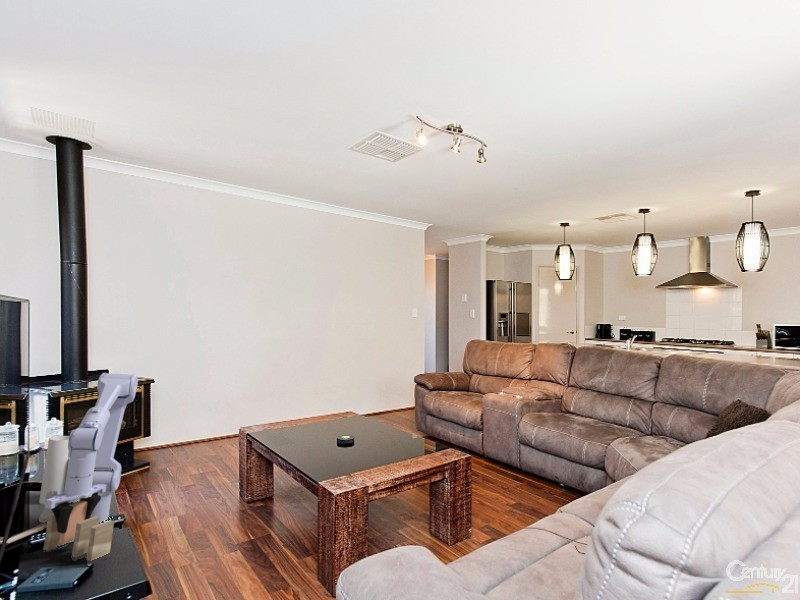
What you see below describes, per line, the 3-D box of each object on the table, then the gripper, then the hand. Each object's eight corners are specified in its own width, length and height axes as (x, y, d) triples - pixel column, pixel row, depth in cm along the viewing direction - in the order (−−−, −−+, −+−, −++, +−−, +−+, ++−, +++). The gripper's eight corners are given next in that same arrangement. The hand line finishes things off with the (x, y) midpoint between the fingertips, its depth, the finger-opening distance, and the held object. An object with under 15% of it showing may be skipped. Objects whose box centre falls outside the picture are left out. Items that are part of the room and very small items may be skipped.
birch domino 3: (85, 565, 110) (91, 527, 111) (104, 556, 115) (109, 520, 116) (90, 566, 110) (95, 528, 111) (109, 557, 115) (114, 521, 115)
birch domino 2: (71, 560, 112) (76, 523, 113) (90, 551, 117) (95, 516, 118) (75, 561, 112) (81, 524, 112) (94, 553, 116) (99, 517, 117)
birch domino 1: (43, 551, 115) (48, 514, 116) (63, 543, 120) (68, 508, 121) (47, 552, 115) (53, 516, 115) (67, 544, 119) (72, 509, 120)
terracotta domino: (58, 543, 114) (64, 506, 115) (78, 535, 119) (83, 500, 119) (63, 544, 113) (68, 507, 114) (82, 536, 118) (87, 501, 119)
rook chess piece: (37, 519, 132) (41, 491, 133) (56, 516, 135) (60, 488, 136) (39, 524, 129) (43, 496, 130) (58, 521, 132) (62, 493, 133)
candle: (37, 505, 141) (47, 441, 143) (41, 497, 148) (50, 436, 149) (80, 501, 147) (89, 439, 149) (82, 494, 153) (91, 434, 155)
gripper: (63, 484, 109) (54, 542, 108) (117, 470, 123) (109, 521, 122) (43, 479, 112) (34, 536, 110) (98, 465, 125) (90, 516, 124)
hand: (72, 528), depth 116 cm, fingers closed on terracotta domino, 5 cm apart
